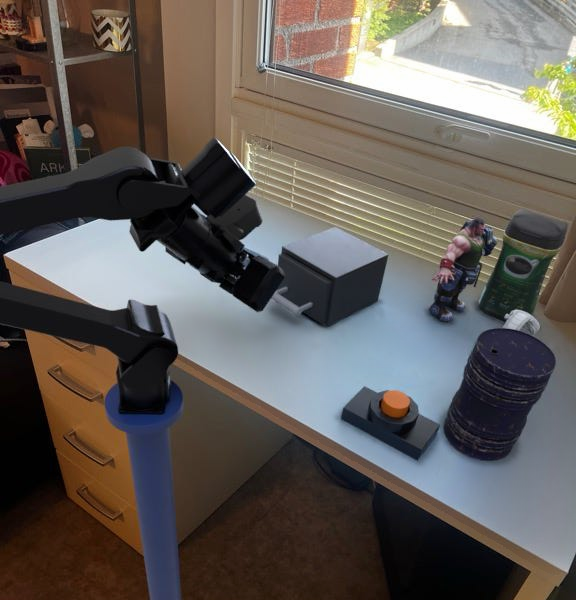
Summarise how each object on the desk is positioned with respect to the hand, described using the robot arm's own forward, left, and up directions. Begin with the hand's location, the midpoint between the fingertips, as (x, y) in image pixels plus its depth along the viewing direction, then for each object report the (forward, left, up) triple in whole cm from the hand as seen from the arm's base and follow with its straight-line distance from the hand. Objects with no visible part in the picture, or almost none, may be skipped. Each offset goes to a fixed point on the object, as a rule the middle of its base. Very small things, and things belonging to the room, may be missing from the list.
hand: (252, 285), depth 81 cm
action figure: (+37, +12, -11) cm, 40 cm away
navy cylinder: (+32, -19, -11) cm, 39 cm away
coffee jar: (+48, +13, -11) cm, 51 cm away
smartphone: (-3, +28, -11) cm, 30 cm away
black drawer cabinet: (+15, +15, -11) cm, 24 cm away
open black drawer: (+12, +13, -10) cm, 20 cm away
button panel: (+19, -18, -11) cm, 28 cm away
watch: (+40, -5, -11) cm, 42 cm away
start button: (+19, -18, -7) cm, 27 cm away
